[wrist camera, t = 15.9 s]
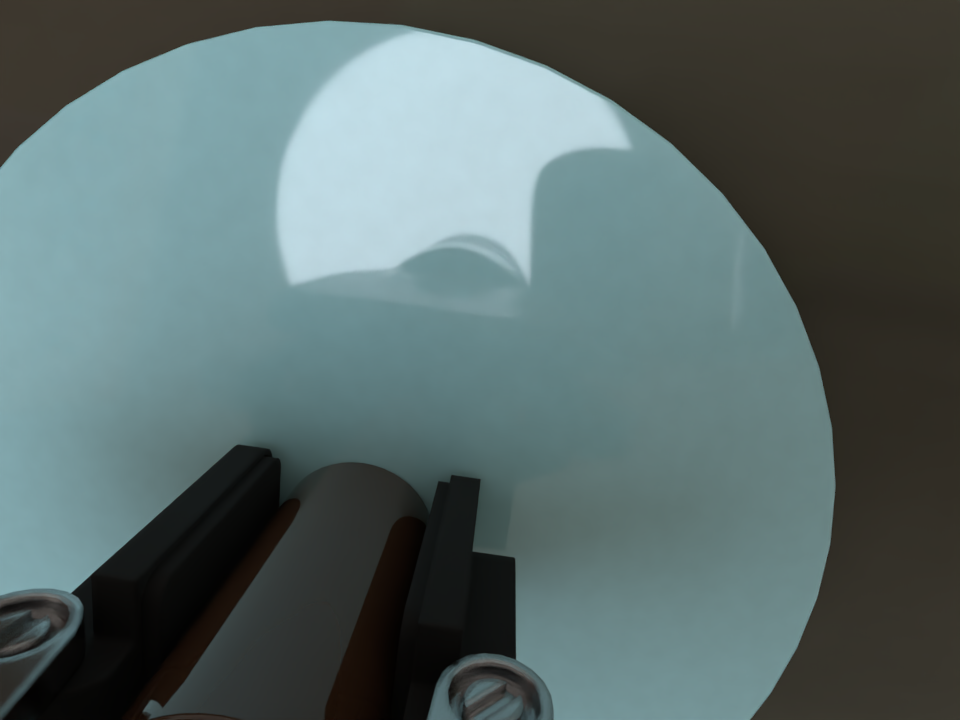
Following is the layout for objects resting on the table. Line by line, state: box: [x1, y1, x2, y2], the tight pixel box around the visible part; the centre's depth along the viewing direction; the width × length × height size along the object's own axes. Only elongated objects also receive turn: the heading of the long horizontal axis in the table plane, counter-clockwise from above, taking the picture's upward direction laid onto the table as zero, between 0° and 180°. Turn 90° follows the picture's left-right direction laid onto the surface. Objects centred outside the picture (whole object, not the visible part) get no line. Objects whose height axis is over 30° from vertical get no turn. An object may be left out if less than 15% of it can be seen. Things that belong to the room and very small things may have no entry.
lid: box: [0, 20, 836, 720], centre depth 9 cm, size 17×17×7 cm
